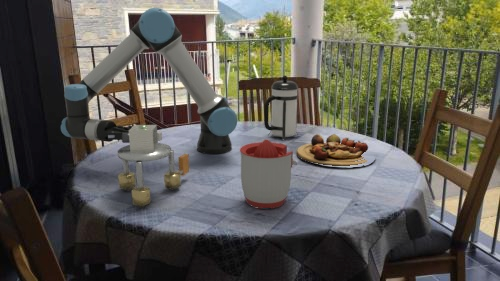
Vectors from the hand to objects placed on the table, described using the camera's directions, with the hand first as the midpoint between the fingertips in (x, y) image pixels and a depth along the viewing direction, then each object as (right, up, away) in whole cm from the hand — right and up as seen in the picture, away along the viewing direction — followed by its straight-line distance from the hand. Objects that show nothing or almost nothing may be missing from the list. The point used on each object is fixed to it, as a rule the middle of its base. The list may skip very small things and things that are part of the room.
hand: (160, 136), depth 137 cm
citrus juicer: (+36, -20, -13) cm, 43 cm away
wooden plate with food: (+66, -9, +31) cm, 73 cm away
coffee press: (+46, 0, +59) cm, 75 cm away
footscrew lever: (+6, -16, -1) cm, 17 cm away
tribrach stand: (-3, -19, -10) cm, 22 cm away
